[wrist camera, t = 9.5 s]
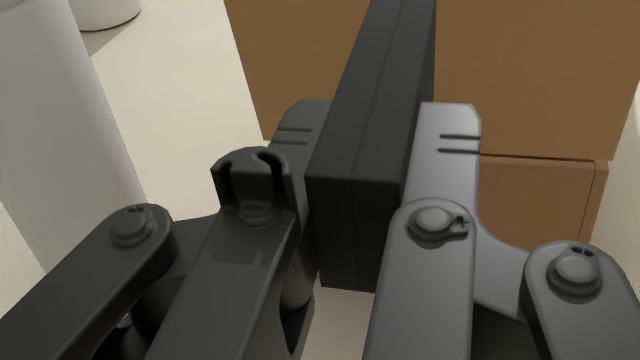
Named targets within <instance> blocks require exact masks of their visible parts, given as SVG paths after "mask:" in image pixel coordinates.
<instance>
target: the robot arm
mask: <svg viewBox="0 0 640 360" xmlns="http://www.w3.org/2000/svg"><path fill="white" fill-rule="evenodd" d="M435 35H436V0H371V1H370V4H369V7H368V9H367V12H366V14H365V17H364V20H363V22H362V25H361V27H360V30H359V33H358V35H357V38H356V40H355V43H354V46H353V48H352V51H351V53H350V56H349V59H348V61H347V64H346V66H345V69H344V72H343V74H342V77H341V80H340V82H339V85H338V87H337V90H336V93H335V95H334V98H333V100H330V99H306V98H300V99H299V100H298V101H297V102H296V103H294V104H293V105H292V106H291V107H290V108H288V109H287V110H286V111H285V112H284V114H283V116H282V118H281V120H280V122H279V124H278V127H277V131H275V133H274V135H273V137H272V139H271V144H270V143H269V145H268V147H263V146H257V147H245V148H242V149H239V150H235V151H232V152H230V153H228V154H227V155H225V156H223V157H222V158H220V159H218V161H217V162H216V163H215V164H214V165H213V166H212V168H211V169H210V171H211V174H212V178H213V181H214V184H215V188H216V191H217V195H218V198H219V201H220V205H221V208H220V210H219V212H218V213H216V214H214V215H210V216H205V217H200V218H194V219H188V220H181V221H175V222H173V220H172V218H171V216H170V214H169V212H168V211H167V210H166V209H164V208H163V207H161V206H159V205H157V204H149V203H141V204H135V205H129V206H127V207H124V208H122V209H120V210H117V211H115V212H114V213H112V214H111V215H110V216H108V217H107V218H105V219H104V220H103V221H102V222H101V223H100V224H99V225H98V226H97V227H95V228H94V229H93V230H92V231H91V232H90V233H89V234H88V235H87V236H86V237H85V238H84V239H83V240H82V241H81V242H80V243H79V244H78V245H77V246H76V247H75V248H74V249H73V250H72V251H71V252H70V253H68V254H67V255H66V256H65V257H64V258H63V259H62V260H61V261H60V262H59V263H58V264H57V265H56V266H55V267H54V268H53V269H52V270H51V271H50V272H49V273H48V274H47V275H46V276H45V277H44V278H42V279H41V280H40V281H39V282H38V283H37V284H36V285H35V286H34V287H33V288H32V289H31V290H30V291H29V292H28V293H27V294H26V295H25V296H24V297H23V298H22V299H21V300H20V301H19V302H18V303H16V304H15V305H14V306H13V307H12V308H11V309H10V310H9V311H8V312H7V313H6V314H5V315H4V316H3V317H2V318H1V319H0V360H300V359H301V356H302V352H303V349H304V345H305V342H306V338H307V335H308V331H309V328H310V324H311V321H312V317H313V314H314V303H315V300H314V295H313V286H314V283H315V279H316V276H317V273H318V269H319V276H320V282H321V287H328V288H336V289H345V290H353V291H361V292H369V293H375V298H374V303H373V307H372V312H371V317H370V322H369V327H368V332H367V337H366V341H365V346H364V351H363V356H362V360H640V302H639V300H638V298H637V296H636V294H635V292H634V290H633V289H632V287H631V285H630V283H629V281H628V279H627V277H626V275H625V273H624V271H623V270H622V269H621V268H620V266H619V265H618V264H617V262H616V261H615V260H614V259H613V258H612V257H611V256H609V255H608V254H606V253H605V252H603V251H602V250H600V249H599V248H597V247H594V246H591V245H588V244H585V243H582V242H579V241H568V240H557V241H552V242H548V243H544V244H541V245H540V246H538V247H537V248H536V249H534V250H533V251H528V250H525V249H523V248H520V247H517V246H514V245H512V244H509V243H507V242H505V241H503V240H501V239H499V238H498V237H496V236H495V235H494V234H492V233H491V232H490V231H489V230H488V229H487V228H486V227H485V226H484V225H483V223H482V221H481V219H480V217H479V215H478V208H477V201H478V182H479V163H480V143H481V124H482V119H481V118H480V116H479V114H478V113H477V111H476V110H475V108H474V107H473V105H472V104H466V103H442V102H433V98H434V73H435ZM126 314H128V315H127V316H126V317H125V318H124V316H125V315H126ZM123 318H124V319H123ZM122 319H123V320H122Z"/></svg>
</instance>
